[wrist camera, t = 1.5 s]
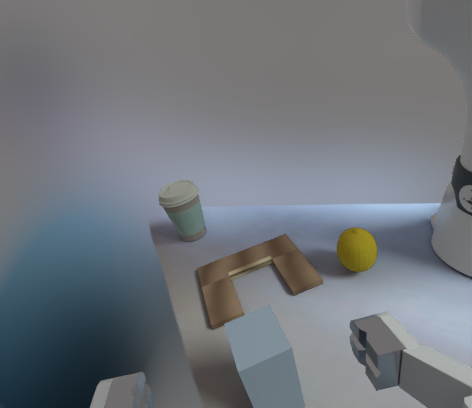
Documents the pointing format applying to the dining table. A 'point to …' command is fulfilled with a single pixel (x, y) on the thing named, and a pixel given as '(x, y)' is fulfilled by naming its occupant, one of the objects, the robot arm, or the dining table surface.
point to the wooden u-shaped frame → (224, 270)
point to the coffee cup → (184, 209)
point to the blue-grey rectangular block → (265, 360)
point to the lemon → (357, 249)
